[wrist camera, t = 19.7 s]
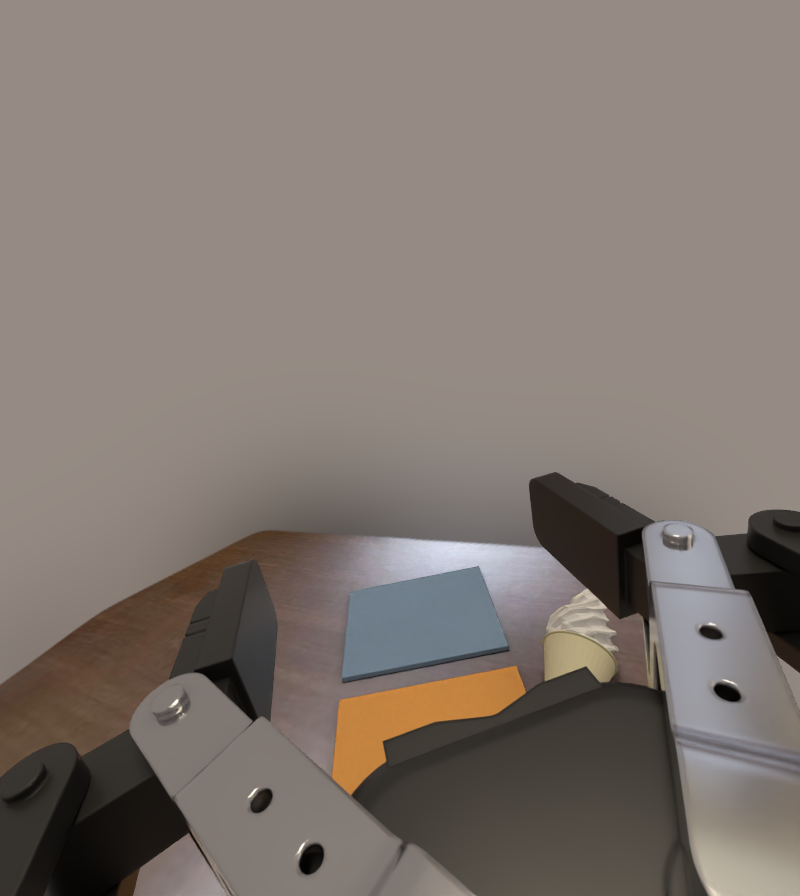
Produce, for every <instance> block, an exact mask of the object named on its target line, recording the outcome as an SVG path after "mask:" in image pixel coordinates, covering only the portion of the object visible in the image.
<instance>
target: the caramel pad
mask: <svg viewBox="0 0 800 896" xmlns="http://www.w3.org/2000/svg"><path fill="white" fill-rule="evenodd" d="M525 693H526V690H525V687H524V685H523V682H522V679H521V677H520V674H519V671H518V669H517V666H513V667H508V668H503V669H498V670H493V671H488V672H482V673H477V674H472V675H467V676H462V677H457V678H451V679H446V680H441V681H436V682H431V683H426V684H420V685H415V686H410V687H405V688H400V689H395V690H389V691H384V692H379V693H374V694H369V695H364V696H358V697H353V698H348V699H343V700H340V701H339V710H338V720H337V730H336V740H335V751H334V761H333V771H332V779H333V780H334V781H335V782H337V783H338V784H339V785H340V786H341V787H342V788H343V789H344V790H345V791H346V792H348V793H349V794H350V795H351V794H352V793H353V792H354V790H355V789H356V788H357V787H358V786H359V785H360V784H361V783H362V782H363V780H364V779H365V778H366V777H367V776H369V775H370V774H371V773H372V772H373V771H374V770H375V769H376V768H378V767H379V766H380V765H382V764H383V763H385V762H386V757H385V752H384V747H383V742H382V741H385V740H387V739H390V738H393V737H395V736H398V735H401V734H404V733H406V732H409V731H412V730H414V729H417V728H420V727H422V726H425V725H428V724H431V723H433V722H438V721H447V720H456V719H466V718H475V717H485V716H491V715H495V714H497V713H498V712H500V711H501V710H503V709H504V708H506V707H507V706H508V705H510V704H511V703H513V702H514V701H515V700H517V699H518V698H520V697H521V696H522V695H524V694H525Z"/></svg>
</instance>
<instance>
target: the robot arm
mask: <svg viewBox="0 0 800 896" xmlns="http://www.w3.org/2000/svg"><path fill="white" fill-rule="evenodd" d="M529 491H530V500H531V509H532V519H533V527H534V531H535V534H536V536H537V538H538V540H539V542H540V544H541V545H542V546H543V547H544V548H545V549H546V550H547V551H548V552H549V553H550V554H551V555H552V556H553V557H554V558H556V559H557V560H558V561H559V562H560V563H561V564H562V565H563V566H564V567H565V568H566V569H567V570H568V571H569V572H570V573H571V574H572V575H573V576H575V577H576V578H577V579H578V580H579V581H580V582H581V583H582V584H583V585H584V586H585V587H586V588H587V589H588V590H589V591H590V592H591V593H592V594H594V595H595V596H596V597H597V598H598V599H599V600H600V601H601V602H602V603H603V604H604V605H605V606H606V607H607V608H608V609H609V610H610V611H611V612H613V613H614V614H615V615H616V616H617V617H618V618H619V619H622V618H625V617H628V616H630V615H633V614H636V613H639V614H640V615H641V616H642V617H643V636H644V646H645V656H646V667H647V677H648V687H647V686H642V685H637V684H632V683H623V682H599V681H598V680H597V679H596V677H595V676H594V675H593V674H592V672H591V671H590V670H589V669H588V668H587V666H585V667H582V668H580V669H577V670H574V671H572V672H569V673H566V674H564V675H561V676H558V677H555V678H553V679H550V680H547V681H545V682H542V683H539V684H538V685H536V686H535V687H533V688H532V689H531V690H529V691H528V692H527V693H525V694H524V695H522V696H521V697H520V698H518V699H517V700H515V701H514V702H513V703H511V704H510V705H508V706H507V707H506V708H504V709H503V710H501V711H500V712H498V713H497V714H495V715H491V716H485V717H475V718H466V719H456V720H447V721H438V722H433V723H431V724H428V725H425V726H422V727H420V728H417V729H414V730H412V731H409V732H406V733H404V734H401V735H398V736H395V737H393V738H390V739H387V740H385V741H382V742H383V747H384V752H385V757H386V762H385V763H383V764H382V765H380V766H379V767H378V768H376V769H375V770H374V771H373V772H372V773H371V774H370V775H369V776H367V777H366V778H365V779H364V780H363V782H362V783H361V784H360V785H359V786H358V787H357V788H356V789H355V790H354V792H353V793H352V794H351V795H350V794H349V793H348V792H346V791H345V790H344V789H343V788H342V787H341V786H340V785H339V784H338V783H337V782H335V781H334V780H333V779H332V778H331V777H330V776H329V775H328V774H327V773H326V772H324V771H323V770H322V769H321V768H320V767H319V766H318V765H317V764H316V763H315V762H313V761H312V760H311V759H310V758H309V757H308V756H307V755H306V754H305V753H304V752H302V751H301V750H300V749H299V748H298V747H297V746H296V745H295V744H294V743H293V742H291V741H290V740H289V739H288V738H287V737H286V736H285V735H284V734H283V733H282V732H280V731H279V730H278V729H277V728H276V727H275V726H274V725H273V724H272V723H271V722H270V718H271V706H272V693H273V680H274V667H275V655H276V642H277V618H276V612H275V609H274V605H273V602H272V600H271V597H270V594H269V592H268V589H267V586H266V583H265V581H264V578H263V575H262V573H261V570H260V567H259V565H258V563H257V561H256V560H255V559H253V560H249V561H246V562H243V563H239V564H236V565H232V566H229V567H226V568H225V570H224V573H223V576H222V579H221V583H220V586H219V589H217V590H213V591H210V592H208V593H207V594H206V595H205V597H204V598H203V599H202V600H201V601H200V603H199V604H198V605H197V606H196V607H195V610H194V613H193V615H192V618H191V621H190V625H189V626H188V629H187V632H186V634H185V636H186V638H184V640H183V643H182V645H181V648H180V651H179V654H178V656H177V659H176V662H175V664H174V667H173V670H172V673H171V675H170V678H169V680H168V681H167V682H165V683H163V684H162V685H160V686H159V687H157V688H156V689H155V690H154V691H152V692H151V693H150V694H149V695H148V696H147V697H146V698H145V699H144V700H143V701H142V702H141V703H140V705H139V706H138V707H137V709H136V710H135V712H134V714H133V716H132V718H131V721H130V726H129V729H128V730H127V731H125V732H123V733H122V734H120V735H118V736H117V737H115V738H113V739H111V740H110V741H108V742H106V743H104V744H103V745H101V746H99V747H97V748H96V749H94V750H92V751H91V752H89V753H87V754H85V755H84V756H82V757H81V756H80V754H79V753H78V751H77V750H76V748H75V747H74V746H73V745H72V744H69V743H57V744H53V745H50V746H47V747H44V748H42V749H40V750H38V751H36V752H34V753H32V754H31V755H29V756H27V757H26V758H24V759H23V760H21V761H20V762H19V763H17V764H16V765H14V766H13V767H12V768H11V769H10V770H8V771H7V772H6V773H5V774H4V775H3V776H2V777H1V778H0V896H133V893H134V889H135V885H136V881H137V877H138V873H139V869H140V867H142V866H143V865H144V864H146V863H147V862H149V861H150V860H151V859H153V858H154V857H156V856H157V855H158V854H160V853H161V852H163V851H164V850H165V849H167V848H168V847H169V846H171V845H172V844H174V843H175V842H176V841H178V840H179V839H181V838H182V837H183V836H185V835H186V834H189V836H190V837H191V839H192V841H193V842H194V844H195V845H196V847H197V849H198V850H199V852H200V853H201V855H202V856H203V858H204V860H205V861H206V863H207V864H208V866H209V868H210V869H211V871H212V872H213V874H214V876H215V877H216V879H217V880H218V882H219V884H220V885H221V887H222V888H223V890H224V892H225V893H226V895H227V896H800V710H799V708H798V706H797V703H796V701H795V698H794V696H793V693H792V691H791V689H790V687H789V684H788V682H787V679H786V677H785V674H784V672H783V670H782V667H781V665H780V663H779V660H778V658H777V656H778V657H780V658H781V659H782V660H784V661H785V662H786V663H787V664H789V665H790V666H791V667H793V668H794V669H795V670H797V671H798V672H799V673H800V512H797V511H790V510H765V511H760V512H757V513H755V514H753V515H751V516H750V518H749V522H748V533H747V534H736V535H725V536H714V535H713V534H712V533H711V532H710V531H709V530H707V529H705V528H703V527H701V526H699V525H696V524H693V523H689V522H684V521H676V520H665V521H658V522H655V521H653V520H651V519H649V518H647V517H646V516H644V515H642V514H641V513H639V512H637V511H635V510H634V509H632V508H630V507H629V506H627V505H625V504H623V503H622V504H621V503H620V501H618V500H617V499H615V498H613V497H609V495H608V494H606V493H604V492H603V491H601V490H599V489H597V488H595V487H592V486H588V485H585V484H581V483H574V482H572V481H571V480H569V479H567V478H566V477H564V476H562V475H561V474H559V473H557V472H554V473H550V474H547V475H544V476H540V477H537V478H534V479H531V481H530V483H529ZM776 655H777V656H776Z"/></svg>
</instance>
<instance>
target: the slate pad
mask: <svg viewBox="0 0 800 896" xmlns="http://www.w3.org/2000/svg"><path fill="white" fill-rule="evenodd" d="M507 650H509V645H508V642H507V640H506V637H505V634H504V632H503V629H502V626H501V624H500V621H499V618H498V616H497V613H496V610H495V608H494V605H493V602H492V600H491V597H490V595H489V592H488V589H487V587H486V584H485V581H484V579H483V576H482V573H481V571H480V568H479V566H477V567H472V568H467V569H462V570H457V571H452V572H447V573H442V574H437V575H432V576H427V577H422V578H417V579H412V580H407V581H402V582H397V583H392V584H387V585H382V586H377V587H372V588H367V589H362V590H357V591H352V592H350V599H349V609H348V619H347V629H346V639H345V649H344V659H343V669H342V681H343V682H347V681H352V680H358V679H363V678H368V677H373V676H378V675H383V674H388V673H394V672H399V671H404V670H409V669H414V668H419V667H425V666H430V665H435V664H440V663H445V662H450V661H455V660H461V659H466V658H471V657H476V656H481V655H486V654H491V653H497V652H502V651H507Z"/></svg>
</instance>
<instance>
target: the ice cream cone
mask: <svg viewBox="0 0 800 896" xmlns="http://www.w3.org/2000/svg"><path fill="white" fill-rule="evenodd" d="M605 609H607V608H606V606H605V605H604V604H603V603H602V602H601V601H600V600H599V599H598V598H597V597H596V596H595V595H594V594H592V593H591V592H590V591H589V590H588V589H587V588H586V589H585V590H584V591H583V592H582V593H580V594H578V595H576V596H574V597H572V599H571V603H570V605H564V606H562V607H561V608H559V609H558V610H557V611H555V612H554V613H553V614H552V615H550V618H549V621H548V625H547V629H546V633H547V634H546V635H545V636H544V638H543V641H542V644H543V648H544V665H545V673H544V675H545V681H547V680H550V679H553V678H555V677H558V676H561V675H564V674H566V673H569V672H572V671H574V670H577V669H580V668H582V667H585V666H587V668H588V669H589V670H590V671H591V672H592V674H593V675H594V676H595V677H596V679H597V680H598V681H599V682H609V681H610V680H611V678H612V677H613V676H614V675H615V674H616V673H617V671H618V664H617V661H616V659H615V658H614V656H613V655H612V653H611V652H619V650H618V647H616V646H615V645H613V644H612V642H611V640H610V637H611V636H617V632H615V631H614V630H611V629H609V628H608V627H607V625H606V622H608V621H609V620H608V619H607V618H606V615H605V613H604V612H603V610H605Z"/></svg>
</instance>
